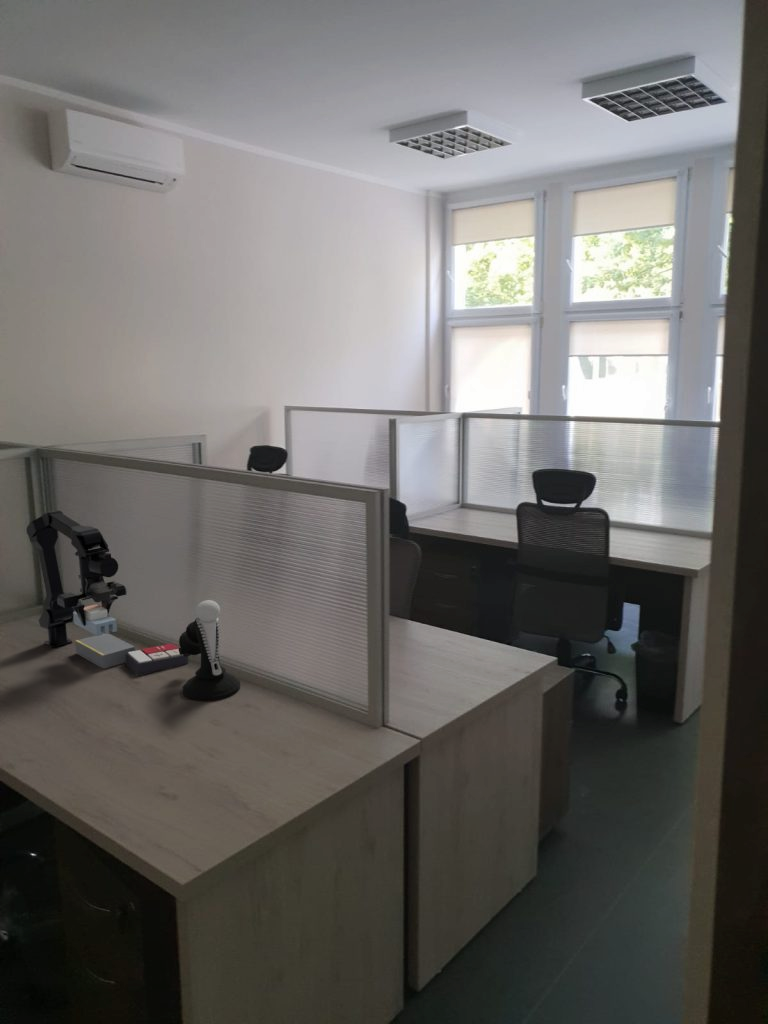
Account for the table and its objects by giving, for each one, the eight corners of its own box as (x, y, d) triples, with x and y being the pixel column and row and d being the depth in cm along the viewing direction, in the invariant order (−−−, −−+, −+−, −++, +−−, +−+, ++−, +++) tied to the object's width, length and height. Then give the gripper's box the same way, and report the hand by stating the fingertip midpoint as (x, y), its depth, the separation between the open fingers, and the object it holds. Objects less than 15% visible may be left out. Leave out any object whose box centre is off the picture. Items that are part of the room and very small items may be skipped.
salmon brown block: (80, 615, 232) (80, 607, 232) (97, 611, 235) (96, 604, 235) (86, 617, 229) (85, 610, 229) (102, 613, 233) (101, 606, 232)
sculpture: (197, 706, 200) (191, 612, 195) (160, 678, 218) (154, 592, 214) (250, 690, 209) (246, 600, 205) (210, 664, 228) (205, 581, 223)
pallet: (74, 623, 235) (73, 612, 235) (93, 618, 239) (92, 607, 239) (97, 636, 224) (96, 624, 223) (117, 631, 228) (116, 619, 227)
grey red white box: (189, 652, 229) (138, 661, 220) (189, 666, 229) (138, 676, 221) (174, 641, 237) (125, 650, 229) (174, 655, 238) (125, 664, 229)
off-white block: (85, 617, 229) (85, 610, 229) (102, 613, 233) (101, 606, 232) (91, 620, 227) (90, 613, 226) (107, 616, 230) (107, 609, 230)
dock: (76, 653, 238) (75, 640, 237) (107, 644, 245) (106, 632, 244) (103, 668, 226) (102, 655, 225) (135, 659, 233) (134, 646, 232)
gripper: (70, 583, 217) (75, 637, 219) (133, 570, 229) (137, 621, 232) (54, 576, 224) (59, 628, 227) (116, 564, 237) (120, 613, 240)
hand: (94, 622), depth 232 cm, fingers closed on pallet, 6 cm apart
